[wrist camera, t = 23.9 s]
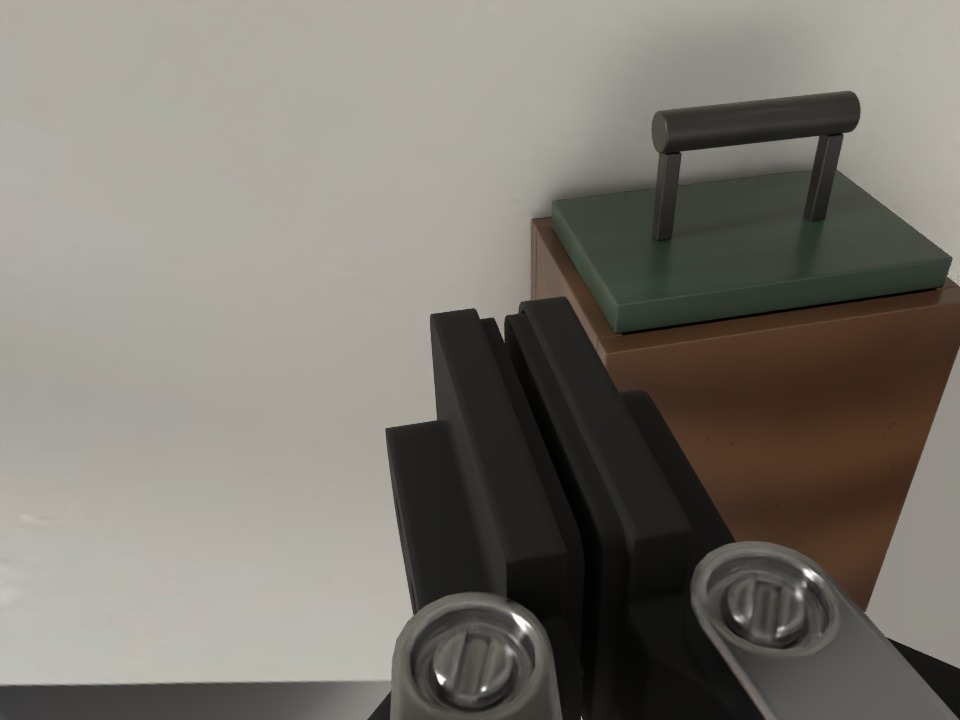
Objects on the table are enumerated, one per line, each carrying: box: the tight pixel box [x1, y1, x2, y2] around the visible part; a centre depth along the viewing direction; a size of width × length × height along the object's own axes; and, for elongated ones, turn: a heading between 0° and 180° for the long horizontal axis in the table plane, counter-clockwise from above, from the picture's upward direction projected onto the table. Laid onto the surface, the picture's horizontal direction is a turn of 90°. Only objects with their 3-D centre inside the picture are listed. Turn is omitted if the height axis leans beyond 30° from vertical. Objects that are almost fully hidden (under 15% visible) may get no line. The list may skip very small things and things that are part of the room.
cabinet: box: [531, 217, 960, 612], centre depth 38 cm, size 17×13×10 cm
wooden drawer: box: [552, 91, 952, 335], centre depth 36 cm, size 20×12×8 cm, turn 2°
